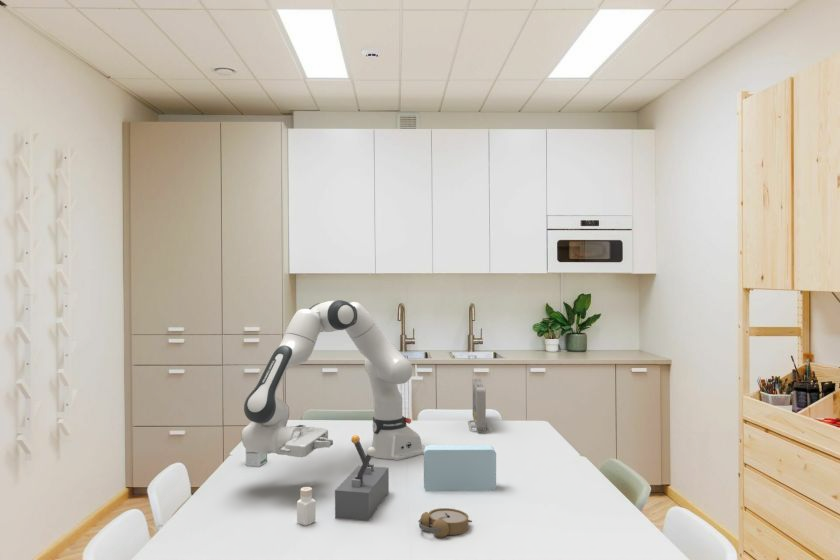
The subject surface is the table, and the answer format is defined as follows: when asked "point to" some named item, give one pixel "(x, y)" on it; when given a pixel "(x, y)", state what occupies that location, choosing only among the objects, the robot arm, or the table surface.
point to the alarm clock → (444, 522)
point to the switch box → (362, 493)
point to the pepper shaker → (306, 507)
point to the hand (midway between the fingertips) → (331, 443)
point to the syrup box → (255, 458)
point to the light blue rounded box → (459, 468)
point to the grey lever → (366, 462)
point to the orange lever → (359, 448)
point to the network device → (479, 407)
